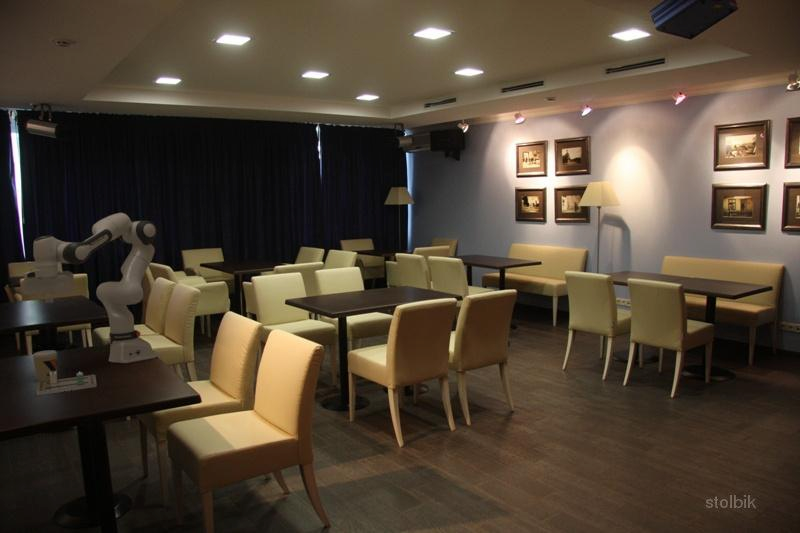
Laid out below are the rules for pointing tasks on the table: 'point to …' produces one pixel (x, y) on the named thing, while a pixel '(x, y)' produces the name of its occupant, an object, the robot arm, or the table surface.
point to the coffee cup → (45, 364)
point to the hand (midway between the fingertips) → (49, 302)
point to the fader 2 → (80, 378)
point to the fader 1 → (53, 377)
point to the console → (65, 385)
